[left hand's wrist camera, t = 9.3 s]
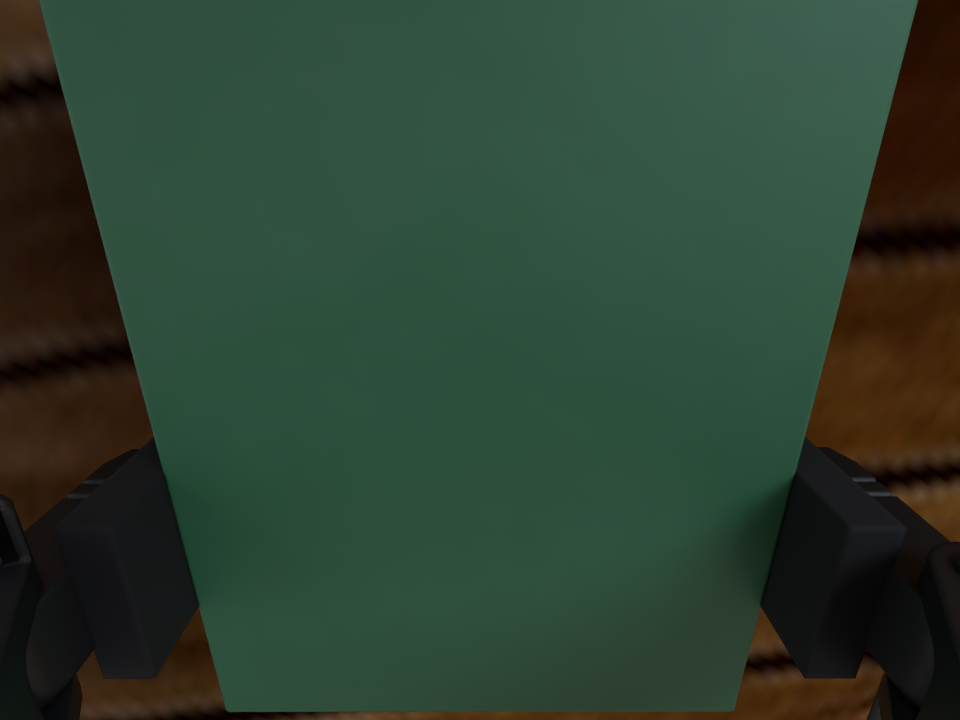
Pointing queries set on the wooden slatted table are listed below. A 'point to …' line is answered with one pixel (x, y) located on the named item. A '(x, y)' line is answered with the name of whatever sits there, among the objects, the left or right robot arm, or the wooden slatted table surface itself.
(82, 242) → the wooden slatted table surface
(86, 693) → the wooden slatted table surface
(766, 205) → the cabinet
